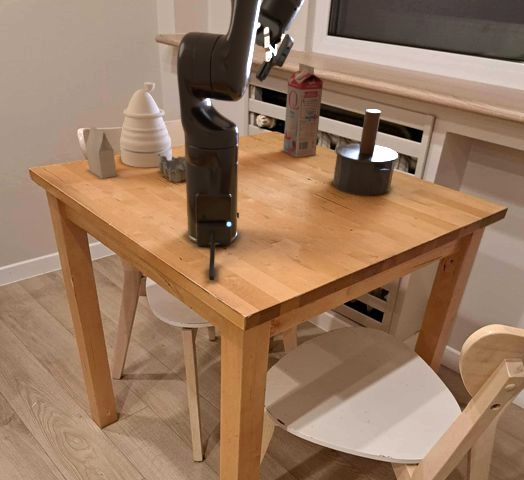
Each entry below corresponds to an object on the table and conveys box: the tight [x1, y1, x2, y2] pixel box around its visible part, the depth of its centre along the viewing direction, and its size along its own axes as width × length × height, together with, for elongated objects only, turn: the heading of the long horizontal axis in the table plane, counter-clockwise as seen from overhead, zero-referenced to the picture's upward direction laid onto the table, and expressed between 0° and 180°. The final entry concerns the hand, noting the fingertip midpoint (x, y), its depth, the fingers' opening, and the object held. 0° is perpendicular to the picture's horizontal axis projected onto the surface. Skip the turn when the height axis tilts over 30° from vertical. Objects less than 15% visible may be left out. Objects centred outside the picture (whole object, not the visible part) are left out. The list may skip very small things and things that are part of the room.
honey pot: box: [119, 81, 173, 168], centre depth 131 cm, size 13×13×18 cm
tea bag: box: [85, 125, 117, 179], centre depth 123 cm, size 4×7×10 cm, turn 40°
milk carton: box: [282, 62, 324, 158], centre depth 142 cm, size 7×7×22 cm
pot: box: [332, 154, 396, 196], centre depth 126 cm, size 14×19×8 cm
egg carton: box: [158, 154, 186, 183], centre depth 126 cm, size 11×8×4 cm
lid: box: [334, 108, 399, 164], centre depth 121 cm, size 15×15×10 cm
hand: (245, 71), depth 116 cm, fingers open, 8 cm apart
